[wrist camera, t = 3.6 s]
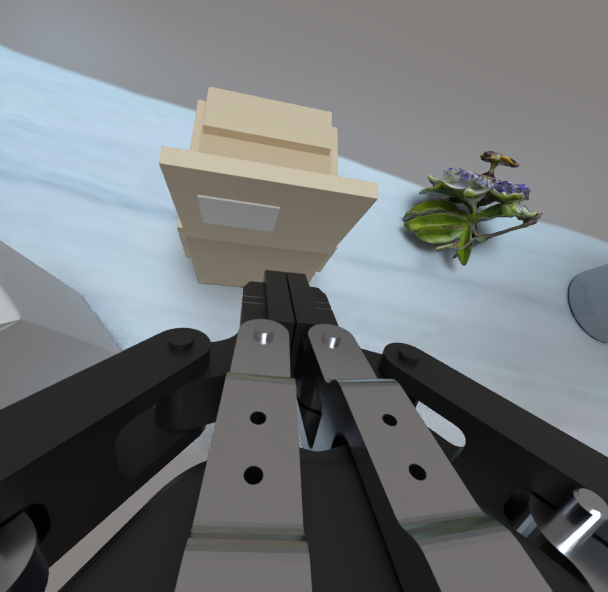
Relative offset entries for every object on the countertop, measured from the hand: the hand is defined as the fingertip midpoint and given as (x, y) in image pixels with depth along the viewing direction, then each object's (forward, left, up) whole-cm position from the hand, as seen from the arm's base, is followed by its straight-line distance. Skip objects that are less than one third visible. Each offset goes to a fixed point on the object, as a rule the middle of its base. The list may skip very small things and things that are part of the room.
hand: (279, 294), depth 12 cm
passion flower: (-22, -16, -19) cm, 34 cm away
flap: (0, -6, -4) cm, 8 cm away
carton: (0, -12, -19) cm, 23 cm away
